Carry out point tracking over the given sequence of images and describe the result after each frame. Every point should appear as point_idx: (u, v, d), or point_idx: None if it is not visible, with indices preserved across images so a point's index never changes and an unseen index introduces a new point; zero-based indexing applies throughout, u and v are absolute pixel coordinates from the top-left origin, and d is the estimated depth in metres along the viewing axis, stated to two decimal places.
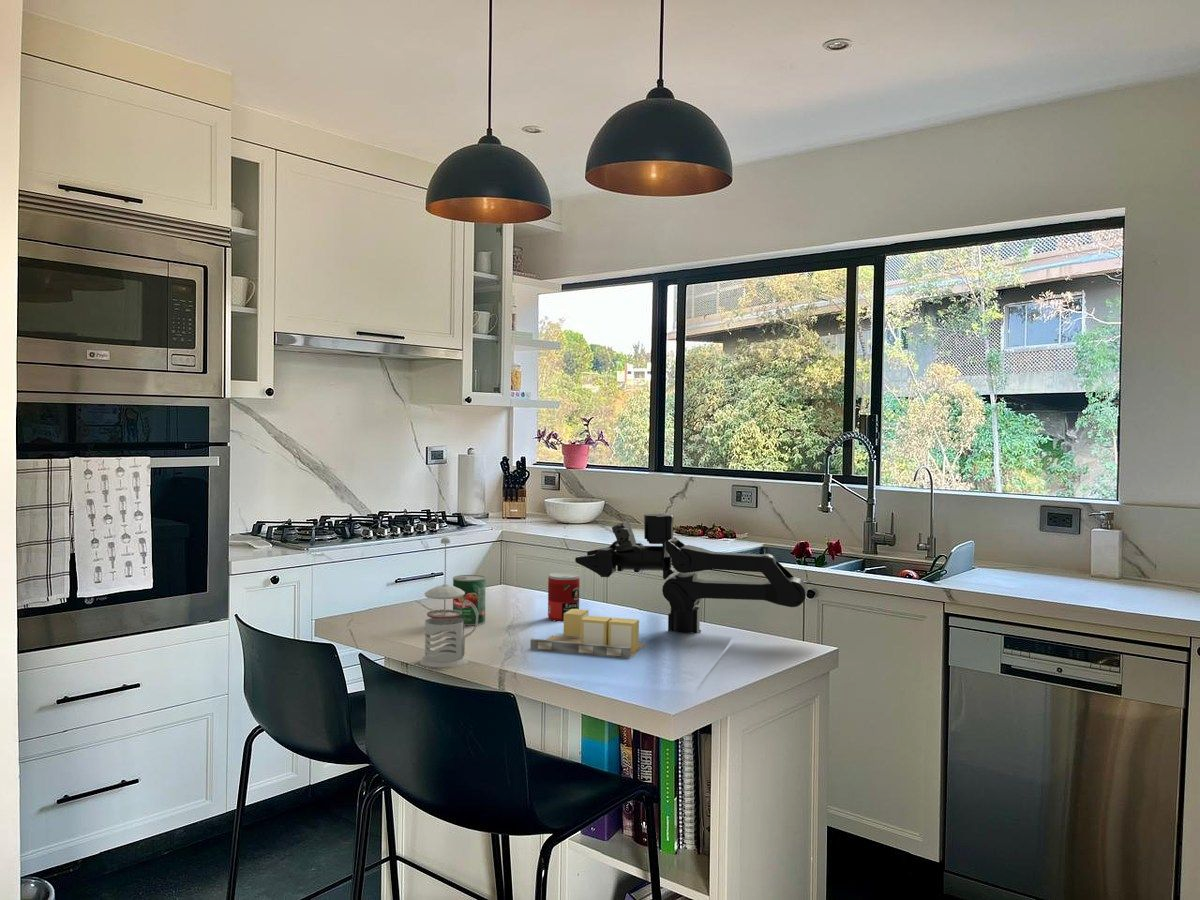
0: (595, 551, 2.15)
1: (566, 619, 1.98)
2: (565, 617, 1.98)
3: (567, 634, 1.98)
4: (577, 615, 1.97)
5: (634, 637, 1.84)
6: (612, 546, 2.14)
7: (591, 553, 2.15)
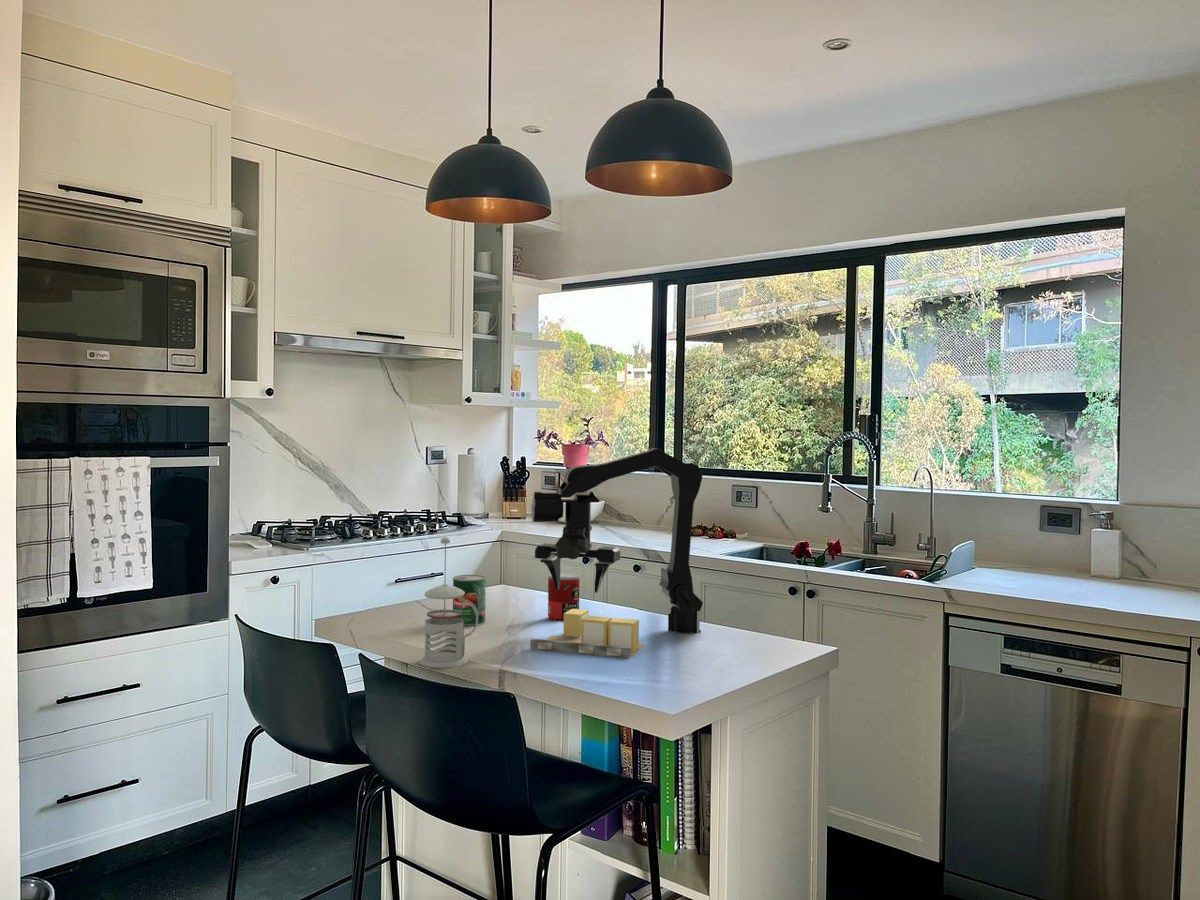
0: (557, 580, 2.00)
1: (566, 619, 1.98)
2: (565, 617, 1.98)
3: (567, 634, 1.98)
4: (577, 615, 1.97)
5: (634, 637, 1.84)
6: (553, 563, 1.99)
7: (558, 584, 2.01)
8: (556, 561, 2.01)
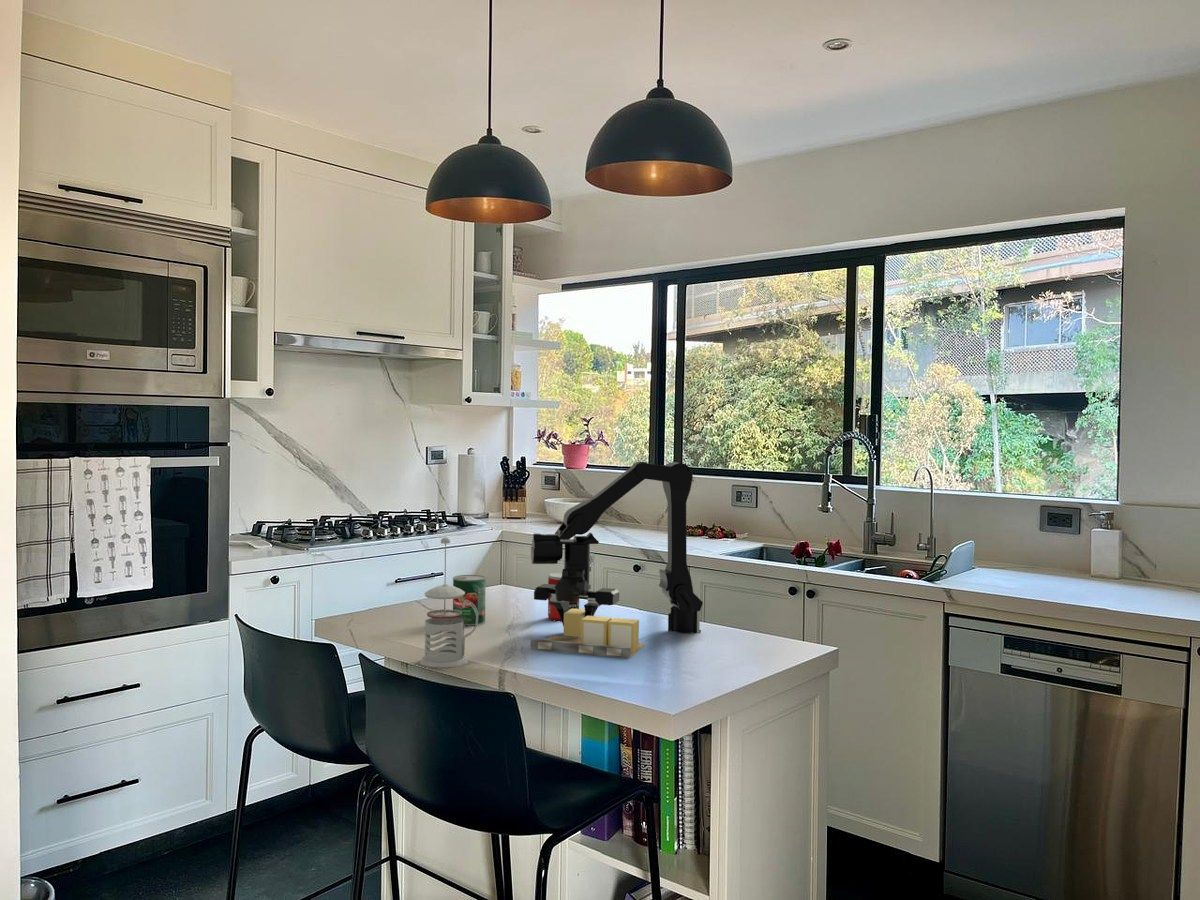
0: None
1: (566, 619, 1.98)
2: (565, 617, 1.98)
3: (567, 634, 1.98)
4: (577, 615, 1.97)
5: (634, 637, 1.84)
6: (562, 605, 1.99)
7: None
8: (565, 603, 2.00)
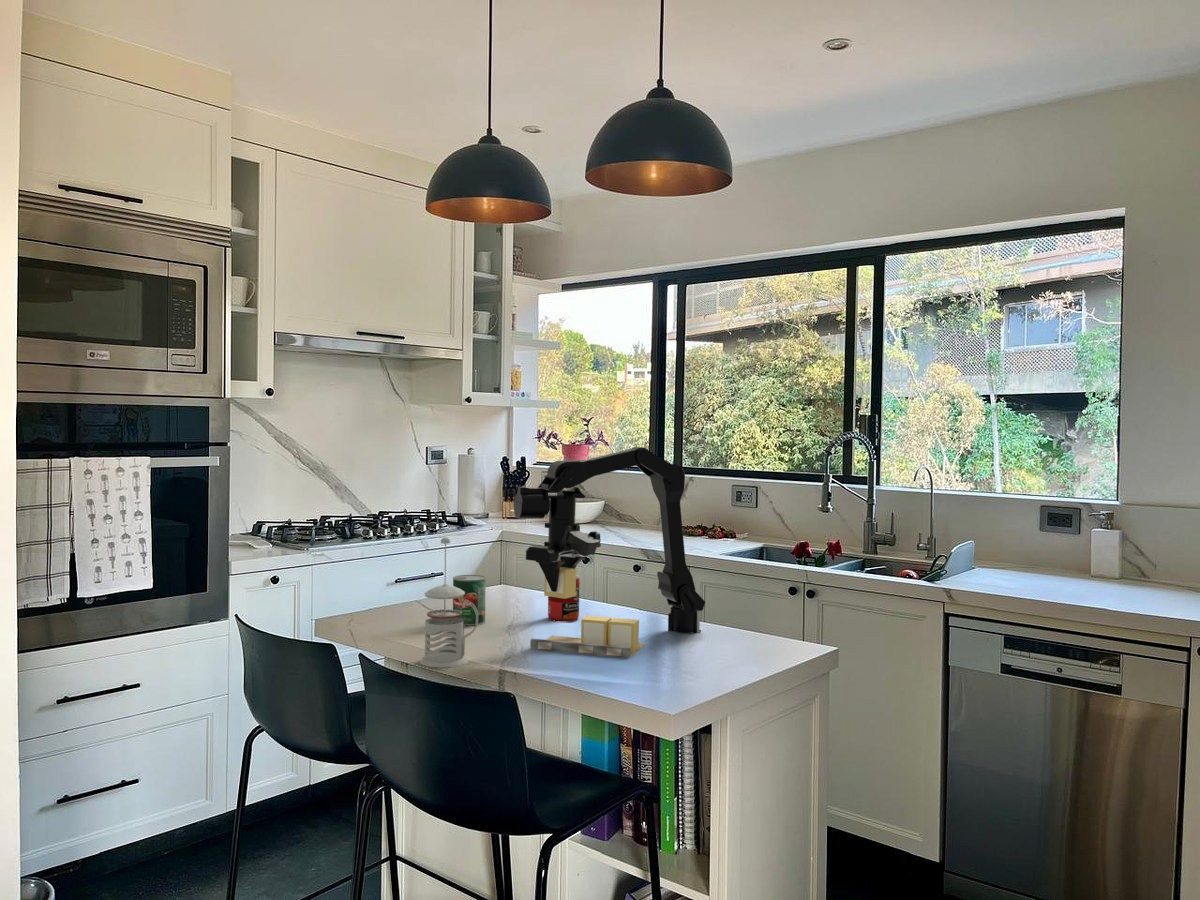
0: None
1: (567, 576, 1.90)
2: (566, 574, 1.90)
3: (567, 591, 1.90)
4: (574, 570, 1.92)
5: (634, 637, 1.84)
6: None
7: None
8: None
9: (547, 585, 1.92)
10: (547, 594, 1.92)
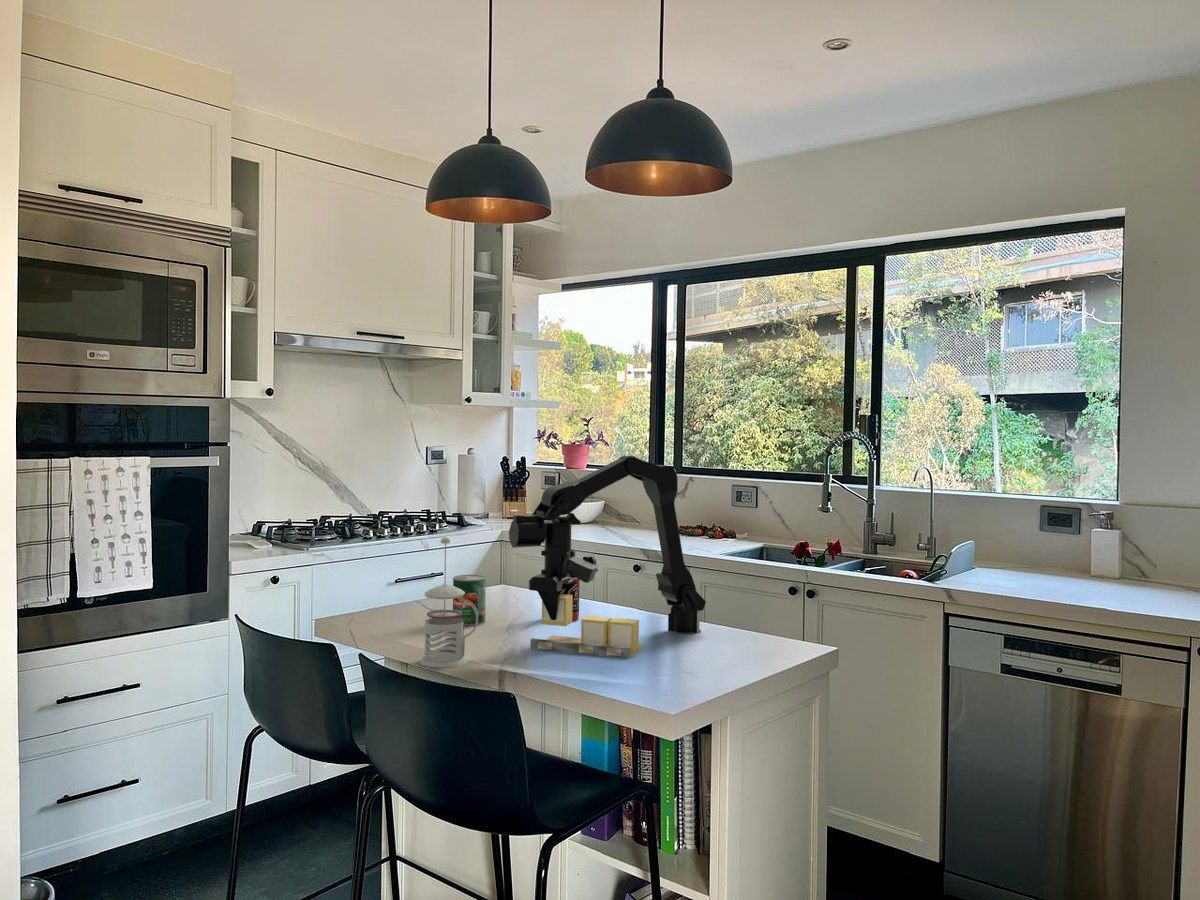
0: None
1: (567, 603, 1.88)
2: (566, 601, 1.88)
3: (567, 618, 1.89)
4: (571, 596, 1.91)
5: (634, 637, 1.84)
6: None
7: None
8: None
9: (545, 613, 1.89)
10: (545, 622, 1.89)
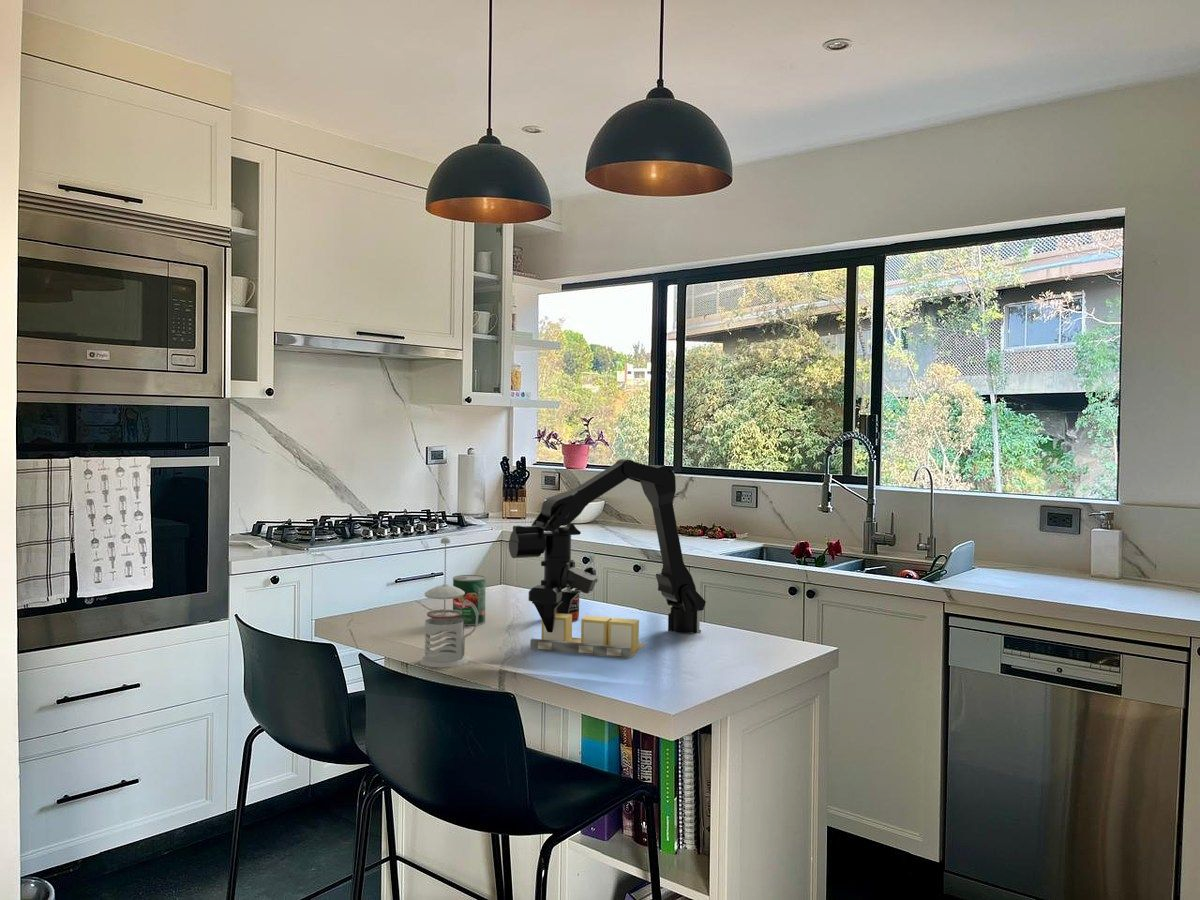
0: None
1: (566, 623, 1.88)
2: (566, 621, 1.88)
3: (567, 638, 1.89)
4: (571, 616, 1.91)
5: (634, 637, 1.84)
6: None
7: None
8: None
9: (545, 633, 1.89)
10: None
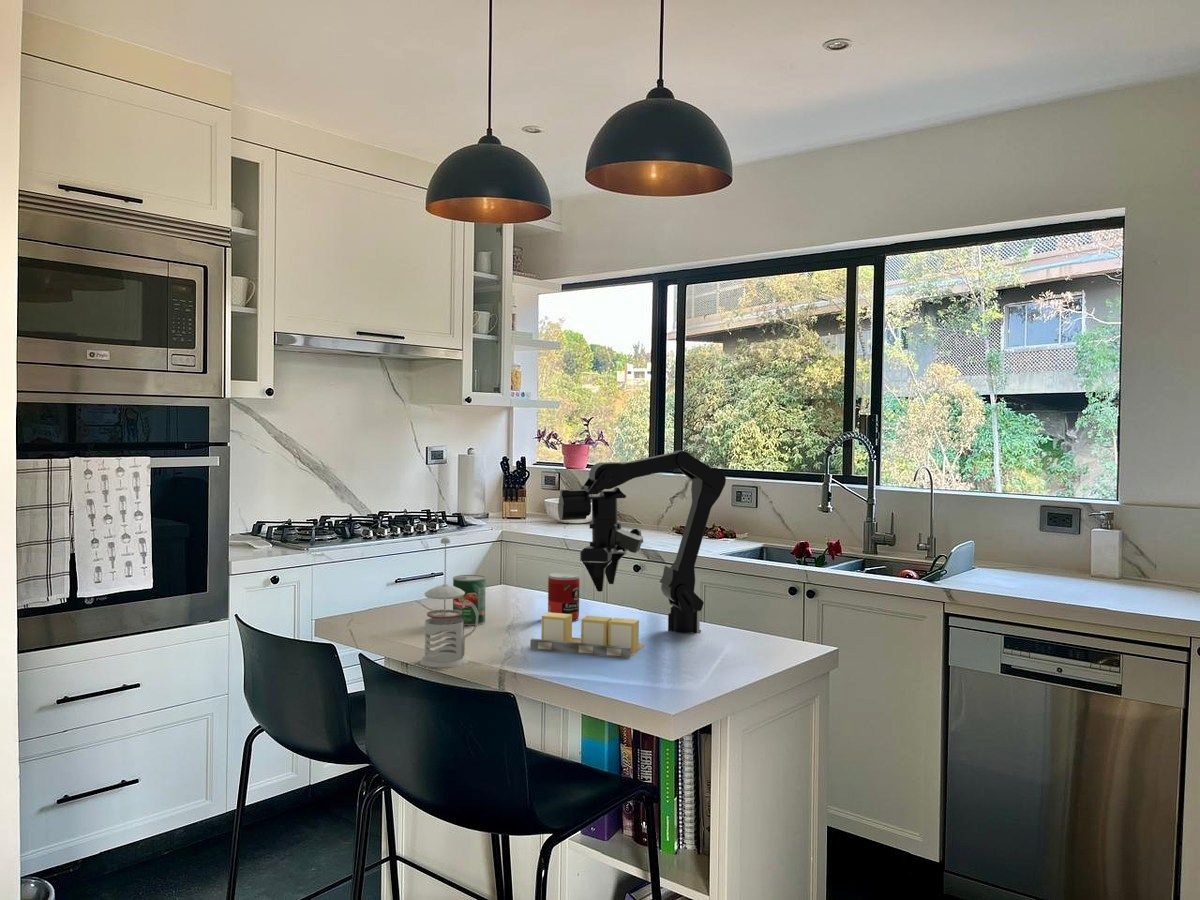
0: None
1: (566, 623, 1.88)
2: (566, 621, 1.88)
3: (567, 638, 1.89)
4: (571, 616, 1.91)
5: (634, 637, 1.84)
6: None
7: None
8: None
9: (545, 633, 1.89)
10: None
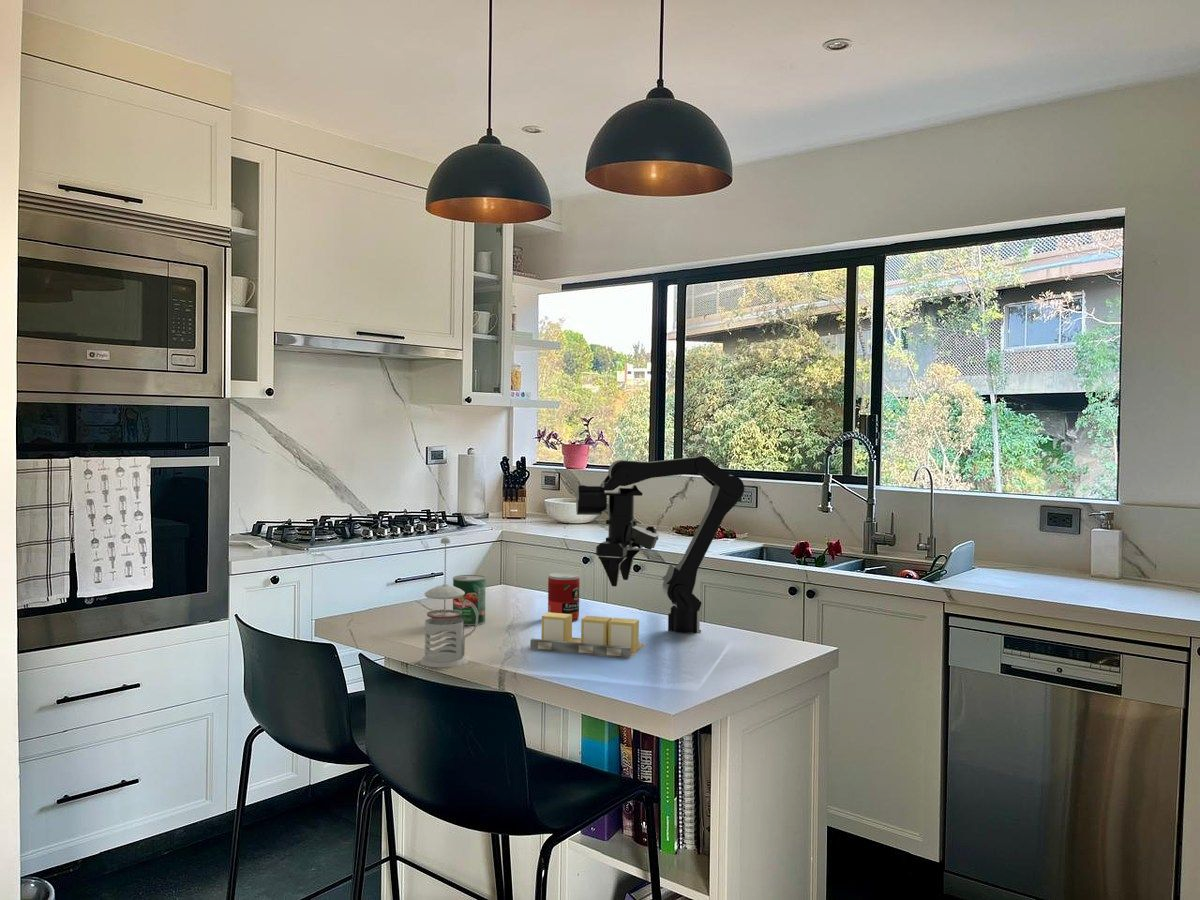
0: None
1: (566, 623, 1.88)
2: (566, 621, 1.88)
3: (567, 638, 1.89)
4: (571, 616, 1.91)
5: (634, 637, 1.84)
6: None
7: None
8: None
9: (545, 633, 1.89)
10: None
